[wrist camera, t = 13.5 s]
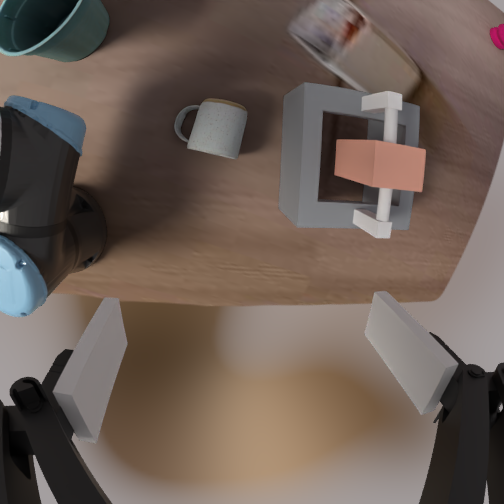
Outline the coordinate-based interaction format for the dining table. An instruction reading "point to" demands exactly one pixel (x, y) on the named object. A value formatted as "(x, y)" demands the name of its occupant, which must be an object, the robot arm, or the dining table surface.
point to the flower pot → (52, 28)
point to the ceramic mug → (215, 127)
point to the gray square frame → (309, 154)
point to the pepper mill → (498, 36)
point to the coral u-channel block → (380, 164)
